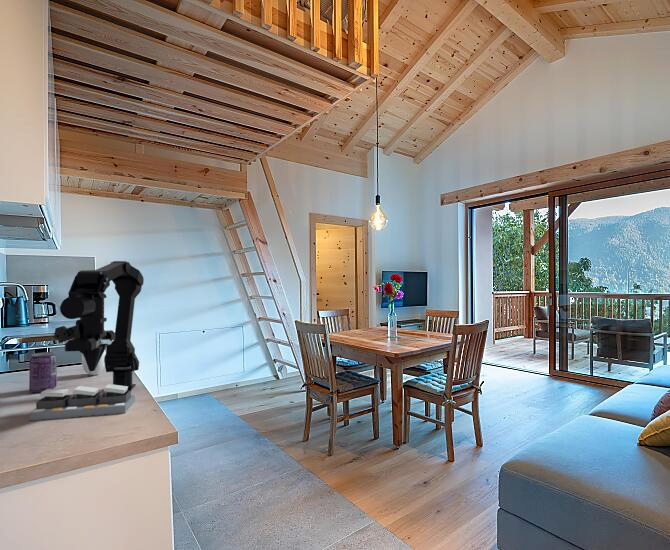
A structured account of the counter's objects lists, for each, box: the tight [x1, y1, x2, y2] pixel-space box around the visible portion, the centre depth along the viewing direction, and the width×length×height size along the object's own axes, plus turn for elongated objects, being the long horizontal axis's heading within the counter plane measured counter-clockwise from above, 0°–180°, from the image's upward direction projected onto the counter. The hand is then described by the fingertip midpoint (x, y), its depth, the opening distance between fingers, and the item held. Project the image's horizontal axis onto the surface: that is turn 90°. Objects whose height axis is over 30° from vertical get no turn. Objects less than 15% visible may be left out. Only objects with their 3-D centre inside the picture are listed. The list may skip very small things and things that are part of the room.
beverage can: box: [28, 351, 58, 393], centre depth 125 cm, size 7×7×12 cm
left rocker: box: [40, 388, 70, 397], centre depth 104 cm, size 4×5×1 cm
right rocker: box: [103, 383, 128, 394], centre depth 108 cm, size 4×5×1 cm
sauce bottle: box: [81, 350, 106, 376], centre depth 145 cm, size 8×8×18 cm
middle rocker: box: [72, 385, 100, 396], centre depth 106 cm, size 4×5×1 cm
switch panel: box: [28, 390, 136, 421], centre depth 106 cm, size 10×23×4 cm, turn 104°
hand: (92, 370), depth 107 cm, fingers closed
